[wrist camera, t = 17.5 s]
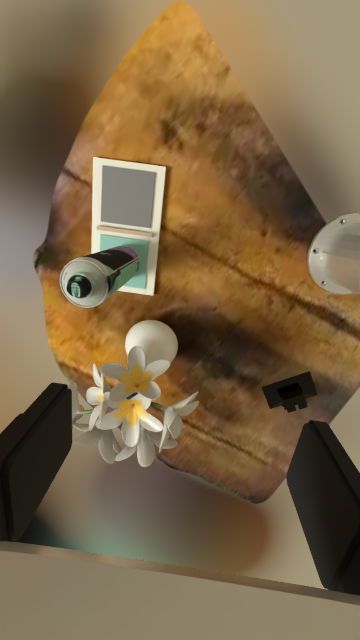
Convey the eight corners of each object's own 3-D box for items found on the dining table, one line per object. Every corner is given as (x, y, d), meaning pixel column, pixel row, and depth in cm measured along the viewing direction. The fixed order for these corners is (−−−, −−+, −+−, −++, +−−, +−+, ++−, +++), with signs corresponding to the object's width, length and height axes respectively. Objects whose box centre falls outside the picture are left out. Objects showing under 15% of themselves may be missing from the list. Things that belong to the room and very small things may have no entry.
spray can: (131, 239, 45) (84, 252, 26) (146, 270, 46) (111, 303, 28) (102, 253, 46) (36, 274, 27) (117, 283, 47) (65, 323, 29)
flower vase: (93, 327, 52) (5, 414, 28) (184, 291, 48) (171, 357, 25) (123, 383, 55) (68, 503, 32) (210, 354, 52) (220, 463, 29)
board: (166, 167, 42) (165, 165, 41) (153, 294, 49) (152, 296, 47) (95, 158, 42) (91, 156, 41) (92, 285, 49) (89, 287, 48)
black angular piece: (262, 412, 56) (268, 428, 52) (251, 383, 54) (255, 397, 50) (324, 394, 54) (335, 408, 50) (315, 363, 52) (325, 375, 48)
